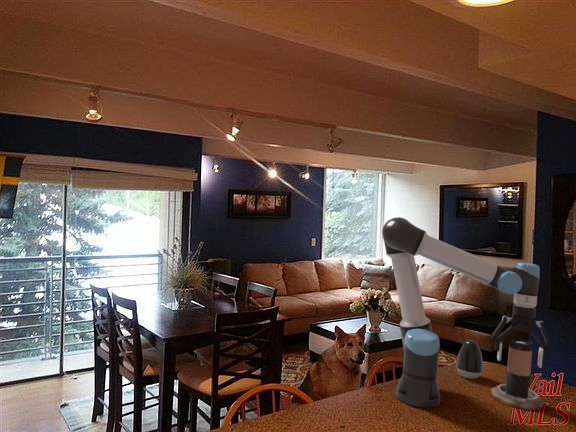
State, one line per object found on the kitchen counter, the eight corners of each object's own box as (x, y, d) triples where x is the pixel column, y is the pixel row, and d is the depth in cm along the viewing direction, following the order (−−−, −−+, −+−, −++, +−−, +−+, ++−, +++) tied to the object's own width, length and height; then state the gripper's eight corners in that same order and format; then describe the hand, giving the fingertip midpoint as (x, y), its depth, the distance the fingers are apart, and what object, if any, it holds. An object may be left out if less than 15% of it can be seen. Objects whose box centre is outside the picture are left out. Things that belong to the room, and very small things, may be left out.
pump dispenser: (463, 370, 196) (466, 335, 196) (486, 378, 188) (489, 341, 188) (450, 374, 190) (453, 338, 189) (474, 383, 182) (477, 345, 181)
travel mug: (531, 401, 164) (536, 345, 164) (508, 398, 166) (512, 343, 165) (524, 392, 172) (529, 340, 171) (502, 389, 173) (507, 337, 173)
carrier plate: (495, 404, 163) (495, 396, 163) (488, 386, 179) (488, 379, 179) (548, 413, 158) (549, 405, 158) (536, 394, 174) (537, 387, 174)
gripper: (489, 302, 168) (483, 360, 168) (566, 312, 161) (560, 372, 161) (486, 299, 175) (481, 354, 175) (559, 308, 168) (554, 365, 168)
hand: (518, 363), depth 168 cm, fingers open, 13 cm apart
